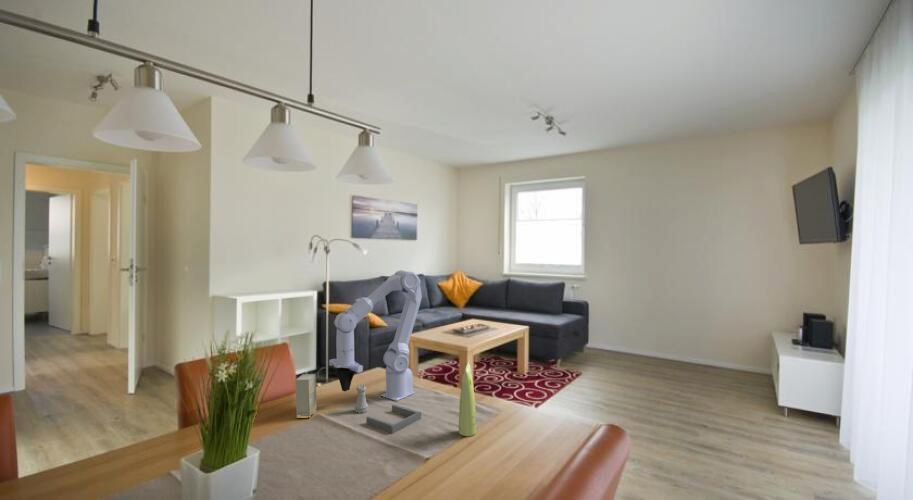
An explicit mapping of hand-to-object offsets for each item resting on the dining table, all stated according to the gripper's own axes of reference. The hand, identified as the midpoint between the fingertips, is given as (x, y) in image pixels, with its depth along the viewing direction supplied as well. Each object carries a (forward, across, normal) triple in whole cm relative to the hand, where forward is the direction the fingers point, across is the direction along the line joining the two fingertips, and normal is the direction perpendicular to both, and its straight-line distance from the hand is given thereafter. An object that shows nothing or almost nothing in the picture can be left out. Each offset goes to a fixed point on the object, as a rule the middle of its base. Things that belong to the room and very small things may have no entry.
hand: (345, 390), depth 140 cm
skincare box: (+6, -4, -12) cm, 14 cm away
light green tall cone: (+5, +44, +6) cm, 45 cm away
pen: (+5, +22, 0) cm, 22 cm away
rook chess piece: (+5, +8, 0) cm, 9 cm away
